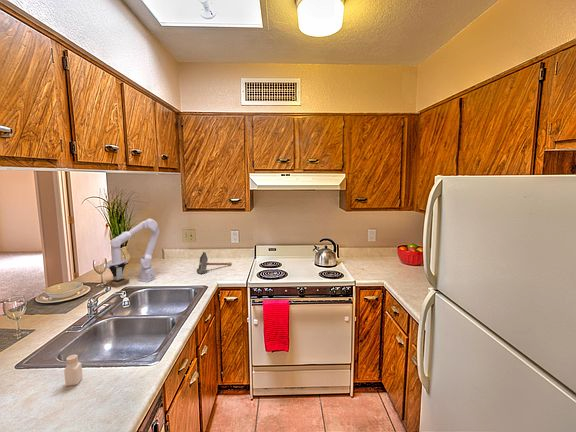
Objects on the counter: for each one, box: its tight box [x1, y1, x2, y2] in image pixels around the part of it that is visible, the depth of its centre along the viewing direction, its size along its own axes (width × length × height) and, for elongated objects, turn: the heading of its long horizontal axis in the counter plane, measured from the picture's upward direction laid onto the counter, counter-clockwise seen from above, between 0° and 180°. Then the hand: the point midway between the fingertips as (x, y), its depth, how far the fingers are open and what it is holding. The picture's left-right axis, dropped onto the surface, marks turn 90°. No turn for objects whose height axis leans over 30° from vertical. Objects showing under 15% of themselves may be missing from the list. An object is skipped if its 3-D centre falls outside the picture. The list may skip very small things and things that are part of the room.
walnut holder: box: [106, 277, 130, 289], centre depth 200 cm, size 9×9×3 cm
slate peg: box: [112, 266, 124, 280], centre depth 199 cm, size 4×4×8 cm
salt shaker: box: [63, 354, 83, 387], centre depth 102 cm, size 4×4×10 cm
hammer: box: [196, 251, 232, 274], centre depth 233 cm, size 6×16×30 cm
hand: (117, 275), depth 199 cm, fingers closed on slate peg, 4 cm apart
